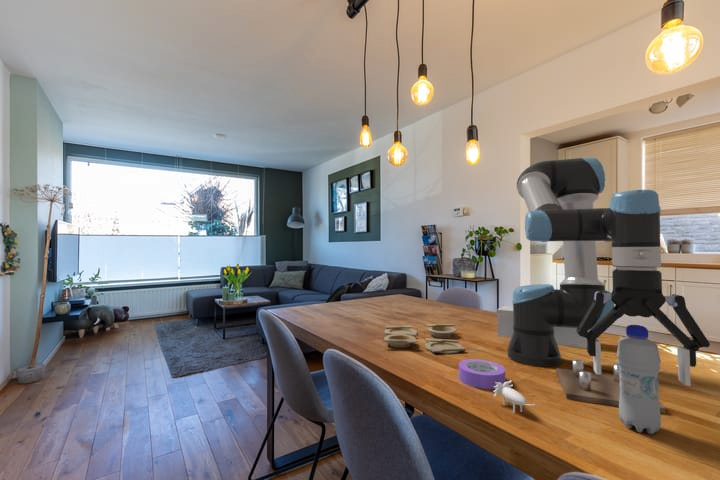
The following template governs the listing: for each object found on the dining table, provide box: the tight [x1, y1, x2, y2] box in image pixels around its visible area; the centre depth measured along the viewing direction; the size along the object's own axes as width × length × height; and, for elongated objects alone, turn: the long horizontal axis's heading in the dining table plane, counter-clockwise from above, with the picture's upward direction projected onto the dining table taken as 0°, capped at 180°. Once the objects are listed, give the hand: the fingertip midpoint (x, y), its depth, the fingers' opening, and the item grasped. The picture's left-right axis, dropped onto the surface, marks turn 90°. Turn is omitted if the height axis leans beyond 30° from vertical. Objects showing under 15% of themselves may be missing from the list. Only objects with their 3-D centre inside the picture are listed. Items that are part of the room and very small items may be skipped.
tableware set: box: [382, 323, 467, 355], centre depth 128 cm, size 35×29×4 cm
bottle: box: [616, 324, 662, 435], centre depth 66 cm, size 7×7×20 cm
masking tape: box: [458, 358, 506, 390], centre depth 90 cm, size 12×12×4 cm
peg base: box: [555, 367, 666, 415], centre depth 83 cm, size 18×18×1 cm
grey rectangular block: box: [496, 305, 590, 350], centre depth 130 cm, size 32×11×11 cm, turn 54°
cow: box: [492, 379, 537, 414], centre depth 73 cm, size 12×5×5 cm, turn 13°
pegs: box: [571, 358, 620, 391], centre depth 83 cm, size 11×11×4 cm
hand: (639, 377), depth 66 cm, fingers open, 13 cm apart
